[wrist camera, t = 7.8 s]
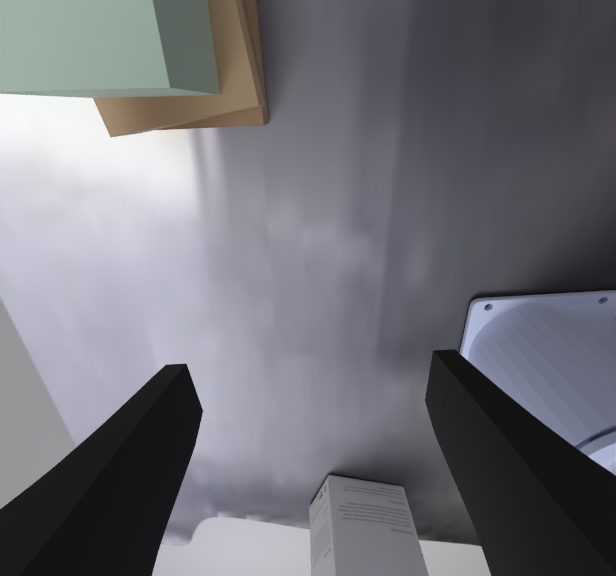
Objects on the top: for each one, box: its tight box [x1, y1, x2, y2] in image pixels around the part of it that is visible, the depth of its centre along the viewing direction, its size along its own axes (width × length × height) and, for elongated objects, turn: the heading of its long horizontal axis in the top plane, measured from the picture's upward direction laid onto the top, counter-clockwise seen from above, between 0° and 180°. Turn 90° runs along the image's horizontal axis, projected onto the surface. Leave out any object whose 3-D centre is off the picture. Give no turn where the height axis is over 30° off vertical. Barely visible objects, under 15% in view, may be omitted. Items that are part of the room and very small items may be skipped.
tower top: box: [93, 0, 267, 137], centre depth 11 cm, size 6×6×2 cm
